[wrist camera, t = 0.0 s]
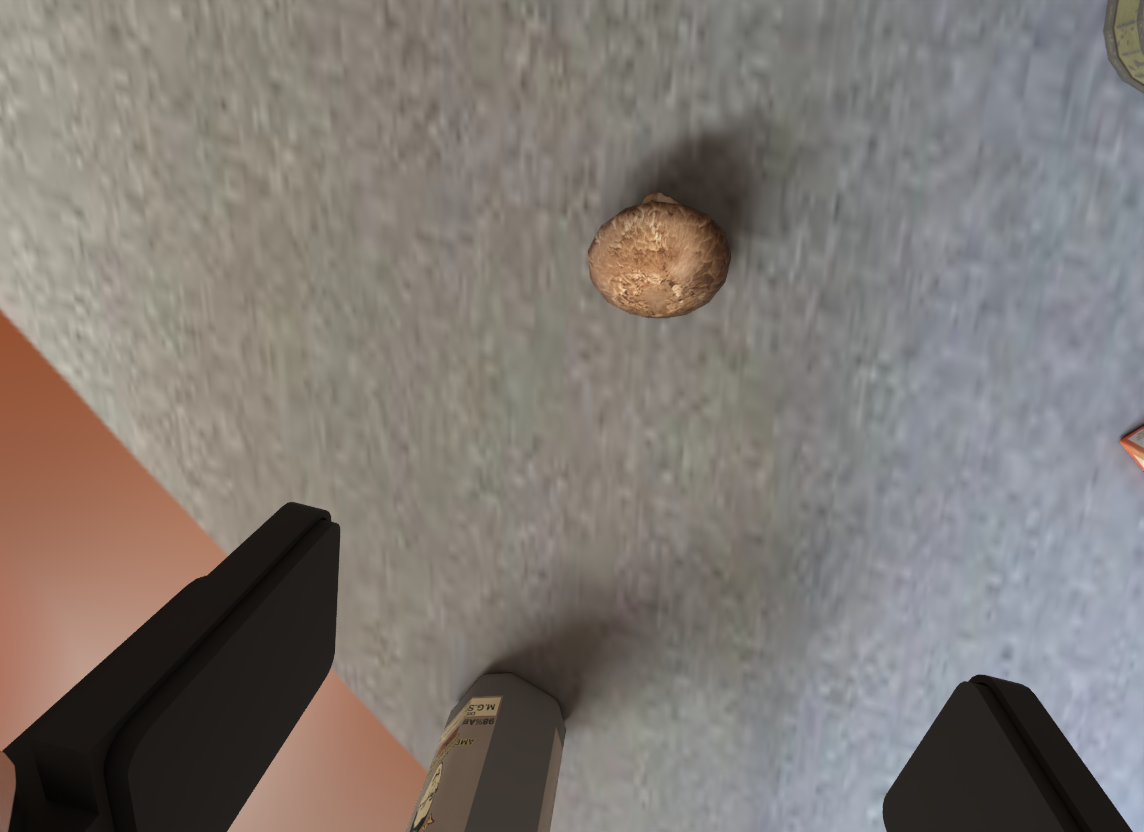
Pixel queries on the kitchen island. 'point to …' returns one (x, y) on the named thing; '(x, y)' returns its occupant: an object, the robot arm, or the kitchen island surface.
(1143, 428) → the cracker box
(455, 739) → the liquor
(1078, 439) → the kitchen island surface
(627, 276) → the mushroom
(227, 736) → the robot arm
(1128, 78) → the thermos
